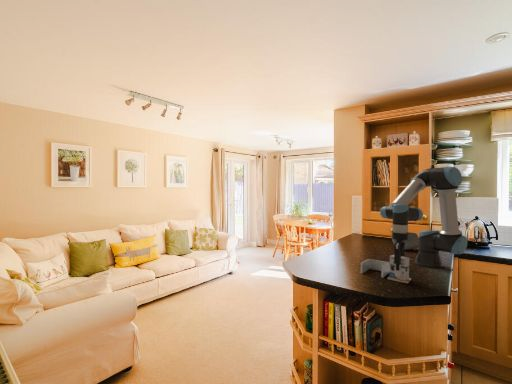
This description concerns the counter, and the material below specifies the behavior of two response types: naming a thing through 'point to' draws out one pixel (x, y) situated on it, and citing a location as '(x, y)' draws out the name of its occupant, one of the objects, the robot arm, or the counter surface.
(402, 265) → the ink box
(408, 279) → the pad
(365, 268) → the cradle
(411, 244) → the bowl
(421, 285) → the counter surface
